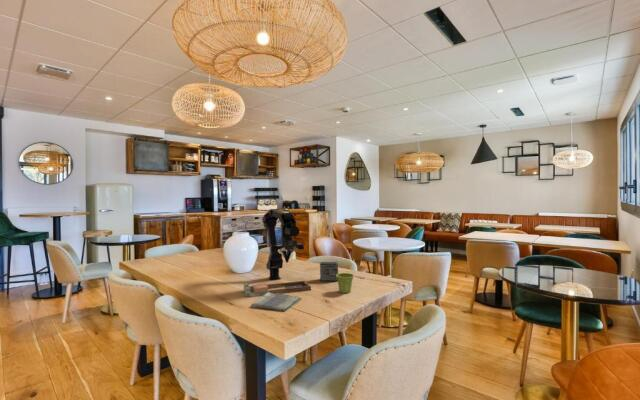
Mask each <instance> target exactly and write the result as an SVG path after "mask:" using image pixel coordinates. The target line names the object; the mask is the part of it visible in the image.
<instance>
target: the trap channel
mask: <svg viewBox="0 0 640 400" xmlns="http://www.w3.org/2000/svg"><path fill="white" fill-rule="evenodd" d="M266 285H267V286H268V290H267V291H258V292H252V285H249V283H248V282H244V283H243V292H244V295H245V298H252V297H254V298H255V297H259V296H260V297H262V296H264V295H265V294H266V293H267V292H269V293H273V294H276V293H279V294H286V293H296V292H305V291H306V292H307V291H312V286H311V285H310V284H309V283H308V282H307V281H306V280H300V281H288V282H280V283H279V282H278V283H271V284H270V283H269V284H266ZM277 288H279V289H277Z"/></svg>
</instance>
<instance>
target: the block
mask: <svg viewBox="0 0 640 400" xmlns="http://www.w3.org/2000/svg"><path fill="white" fill-rule="evenodd" d="M267 285H268V284H266V283H257V284H252V285H251V286H252V290H251V292H258V291H267V290H269V289H268V286H267Z"/></svg>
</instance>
